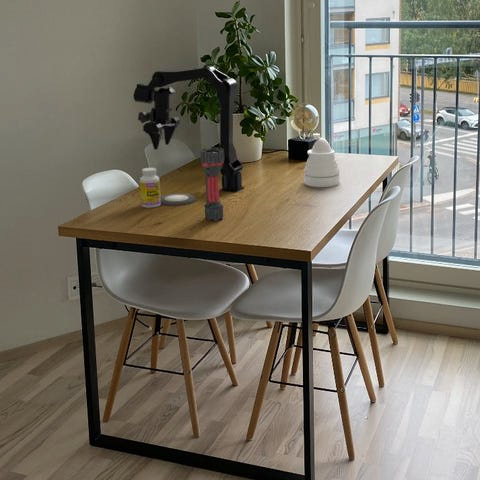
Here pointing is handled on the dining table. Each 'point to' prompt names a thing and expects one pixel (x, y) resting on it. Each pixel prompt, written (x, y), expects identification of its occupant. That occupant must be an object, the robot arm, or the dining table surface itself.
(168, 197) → the dock pad
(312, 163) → the honey pot
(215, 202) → the flashlight
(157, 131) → the robot arm
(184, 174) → the dining table surface
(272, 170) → the dining table surface
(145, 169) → the supplement bottle
